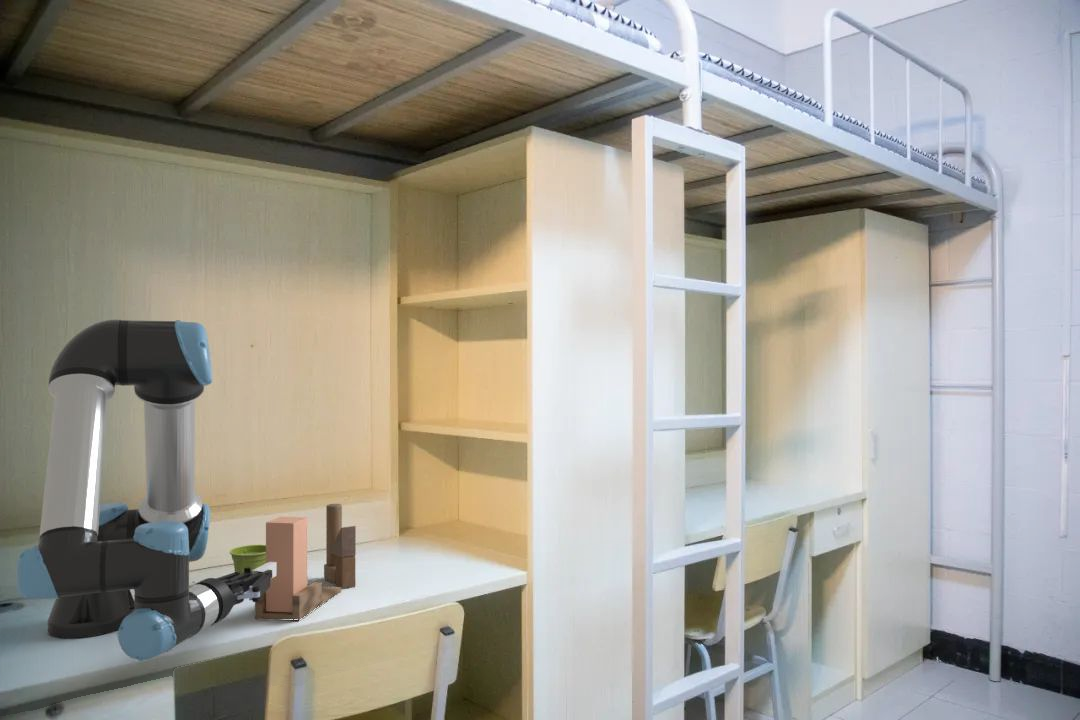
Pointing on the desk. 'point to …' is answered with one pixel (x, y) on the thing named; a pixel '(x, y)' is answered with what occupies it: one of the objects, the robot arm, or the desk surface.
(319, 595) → the chute
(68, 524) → the robot arm
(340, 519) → the brown stepped tower
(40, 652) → the desk surface
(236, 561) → the plant pot
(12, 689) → the desk surface
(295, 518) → the block
